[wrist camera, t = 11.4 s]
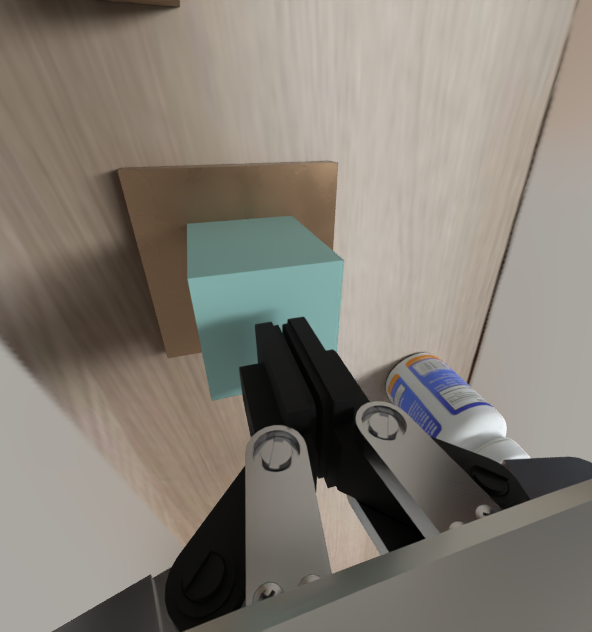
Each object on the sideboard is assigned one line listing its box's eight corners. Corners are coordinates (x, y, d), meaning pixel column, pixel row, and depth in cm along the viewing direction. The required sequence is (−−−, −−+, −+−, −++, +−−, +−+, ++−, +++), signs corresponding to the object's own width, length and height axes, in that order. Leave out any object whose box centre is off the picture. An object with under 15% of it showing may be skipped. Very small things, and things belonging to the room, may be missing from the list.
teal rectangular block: (187, 223, 15) (187, 278, 10) (291, 215, 16) (343, 260, 11) (203, 316, 18) (211, 400, 12) (292, 303, 19) (335, 374, 14)
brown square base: (121, 167, 14) (77, 196, 8) (330, 160, 17) (407, 179, 11) (168, 348, 19) (161, 442, 14) (322, 322, 22) (372, 393, 16)
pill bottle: (405, 407, 29) (486, 512, 21) (371, 386, 27) (451, 498, 19) (449, 366, 28) (553, 461, 20) (419, 339, 25) (526, 438, 17)
